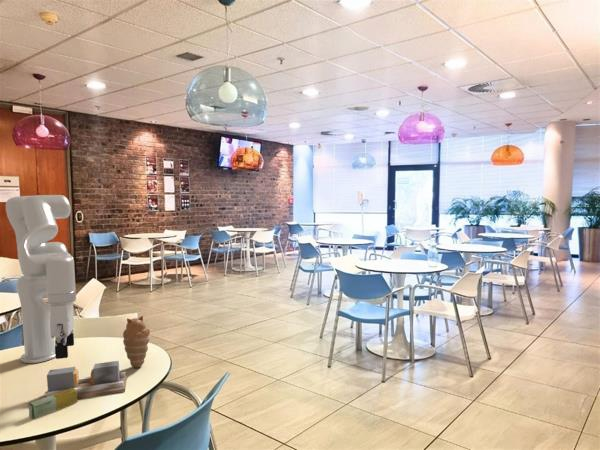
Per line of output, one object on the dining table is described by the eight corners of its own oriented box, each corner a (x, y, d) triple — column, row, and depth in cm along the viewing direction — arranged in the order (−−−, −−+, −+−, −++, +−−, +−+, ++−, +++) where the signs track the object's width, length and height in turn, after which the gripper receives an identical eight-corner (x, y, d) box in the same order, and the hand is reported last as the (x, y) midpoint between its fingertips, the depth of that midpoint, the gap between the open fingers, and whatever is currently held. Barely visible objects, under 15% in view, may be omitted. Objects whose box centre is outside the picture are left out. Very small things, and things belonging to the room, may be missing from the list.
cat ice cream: (127, 374, 143) (124, 322, 142) (121, 366, 150) (118, 316, 148) (154, 367, 149) (151, 316, 147) (147, 360, 155) (144, 311, 153)
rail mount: (43, 404, 124) (41, 381, 124) (52, 386, 136) (51, 365, 135) (124, 391, 131) (123, 369, 131) (127, 375, 143) (126, 355, 142)
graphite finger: (51, 388, 132) (49, 370, 131) (79, 384, 134) (78, 366, 134) (48, 394, 128) (46, 375, 127) (77, 390, 130) (75, 371, 130)
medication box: (32, 420, 116) (31, 406, 116) (28, 417, 118) (27, 403, 117) (78, 403, 125) (77, 389, 125) (74, 400, 127) (73, 387, 127)
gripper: (54, 291, 136) (57, 343, 138) (40, 306, 120) (44, 365, 122) (80, 289, 138) (83, 340, 140) (70, 303, 122) (73, 361, 124)
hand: (65, 351), depth 131 cm, fingers open, 9 cm apart
